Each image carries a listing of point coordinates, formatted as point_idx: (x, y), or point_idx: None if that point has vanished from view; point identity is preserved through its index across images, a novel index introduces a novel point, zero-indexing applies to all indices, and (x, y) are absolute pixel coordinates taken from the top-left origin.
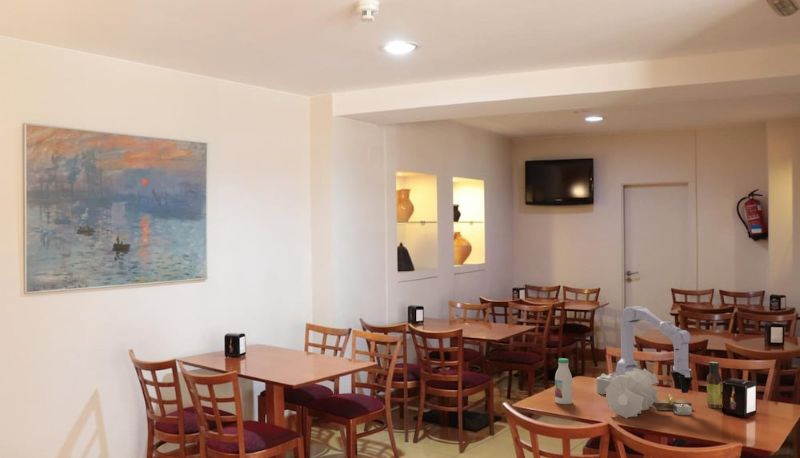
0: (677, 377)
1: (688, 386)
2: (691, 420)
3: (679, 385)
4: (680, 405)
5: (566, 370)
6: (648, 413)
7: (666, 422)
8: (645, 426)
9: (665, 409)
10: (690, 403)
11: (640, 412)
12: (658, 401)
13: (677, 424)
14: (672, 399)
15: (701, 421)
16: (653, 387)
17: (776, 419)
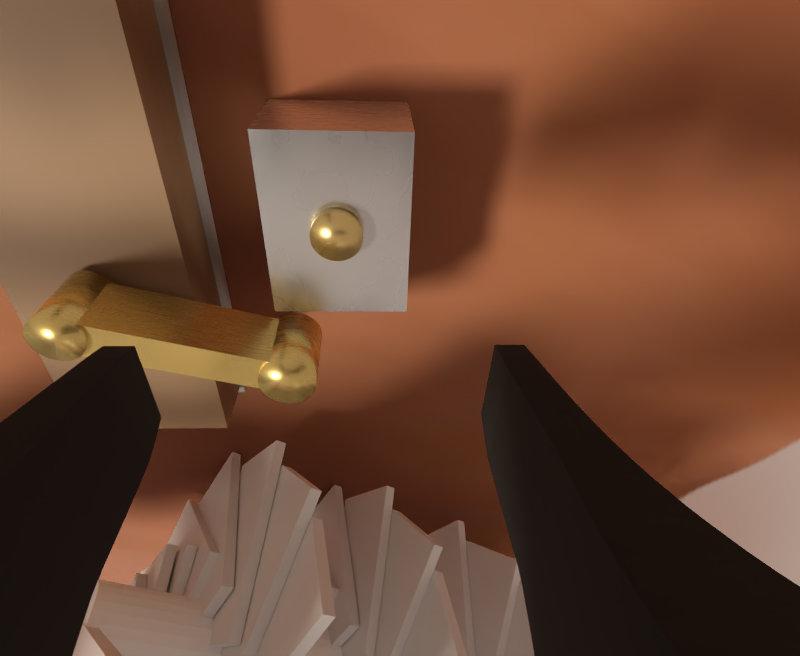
0: (9, 653)
1: (603, 451)
2: (634, 202)
3: (115, 419)
4: (345, 255)
5: None
6: (368, 449)
7: (625, 408)
8: None
9: None
10: (123, 20)
11: (462, 529)
12: (156, 399)
13: (701, 358)
14: (316, 375)
15: (706, 104)
16: (306, 653)
17: None
